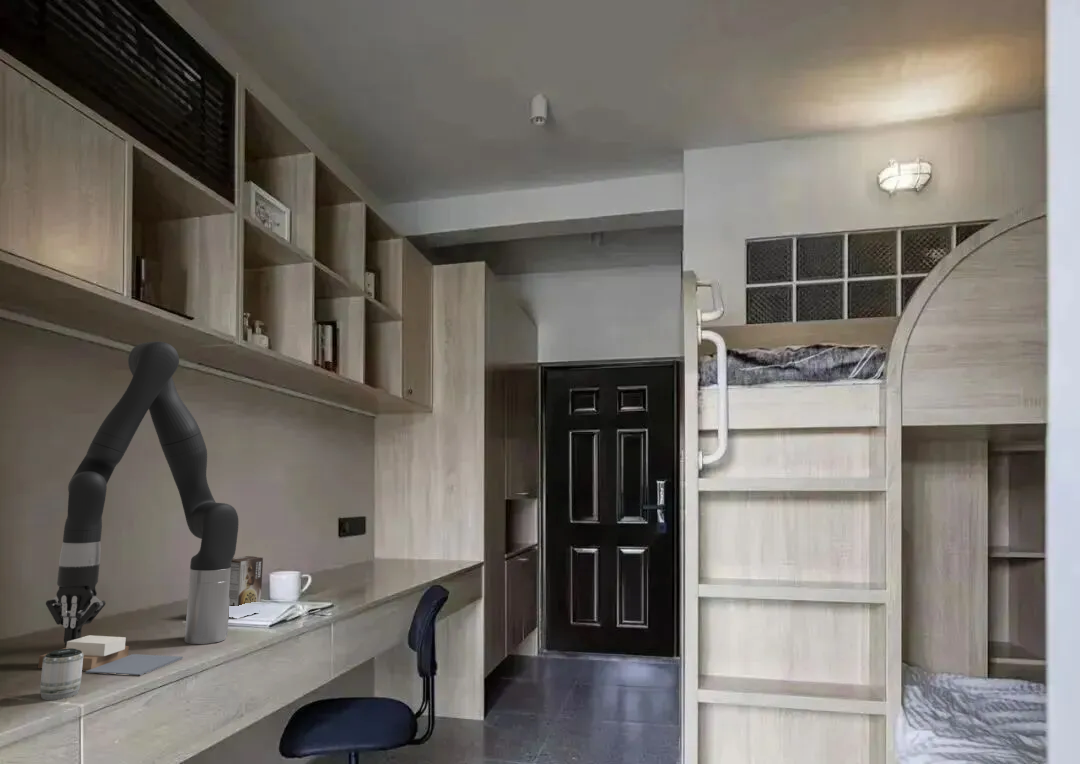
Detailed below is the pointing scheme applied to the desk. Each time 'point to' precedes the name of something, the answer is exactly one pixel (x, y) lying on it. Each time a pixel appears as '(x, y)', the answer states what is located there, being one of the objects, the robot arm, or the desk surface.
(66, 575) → the robot arm
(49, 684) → the camera lens
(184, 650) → the desk surface
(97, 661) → the plate
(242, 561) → the coffee box
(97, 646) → the white box
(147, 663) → the mat
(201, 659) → the desk surface
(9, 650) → the desk surface
